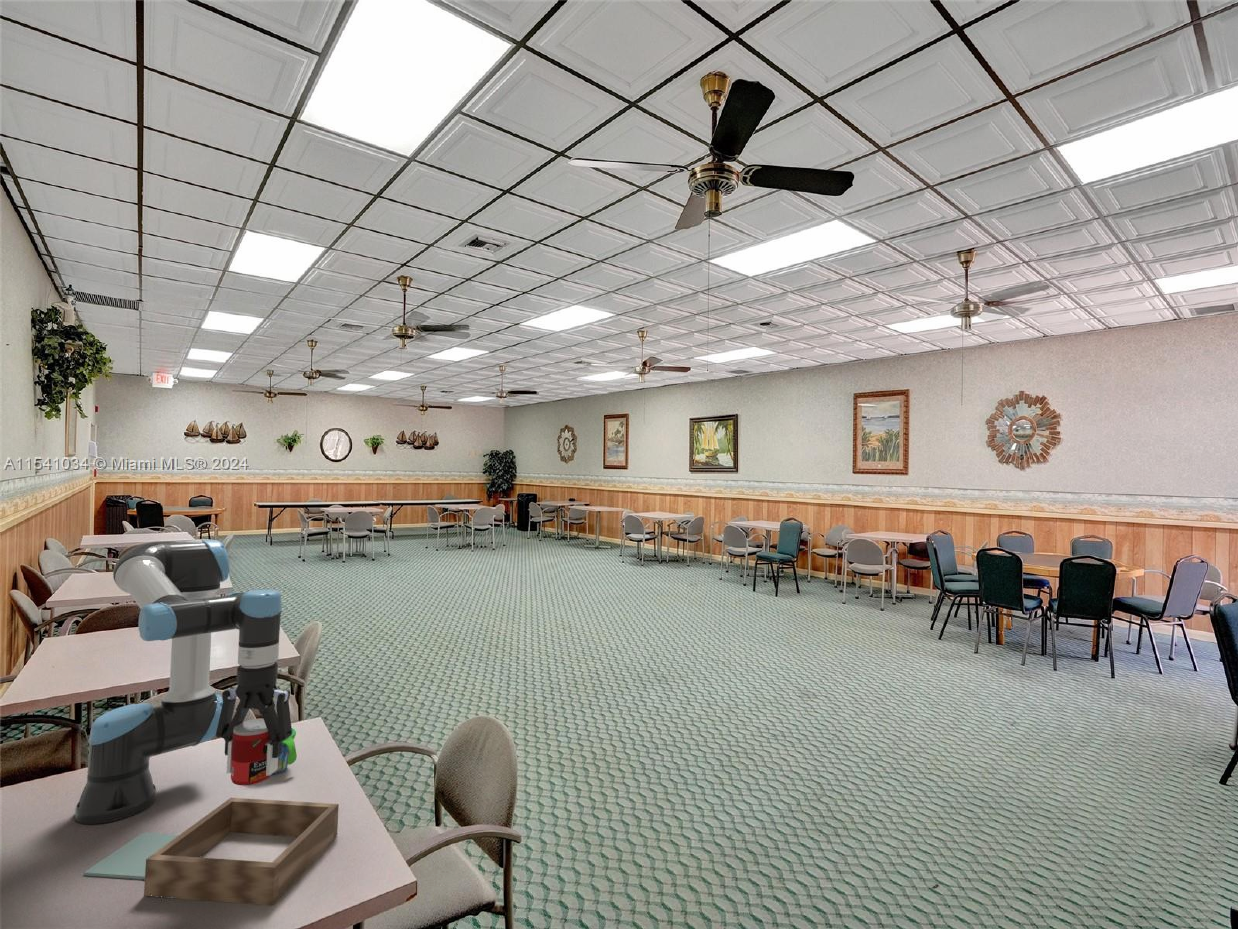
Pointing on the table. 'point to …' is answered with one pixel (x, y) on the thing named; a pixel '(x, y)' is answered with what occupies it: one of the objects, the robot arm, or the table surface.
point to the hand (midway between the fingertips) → (252, 771)
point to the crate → (240, 880)
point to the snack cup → (287, 753)
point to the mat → (131, 857)
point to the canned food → (249, 752)
